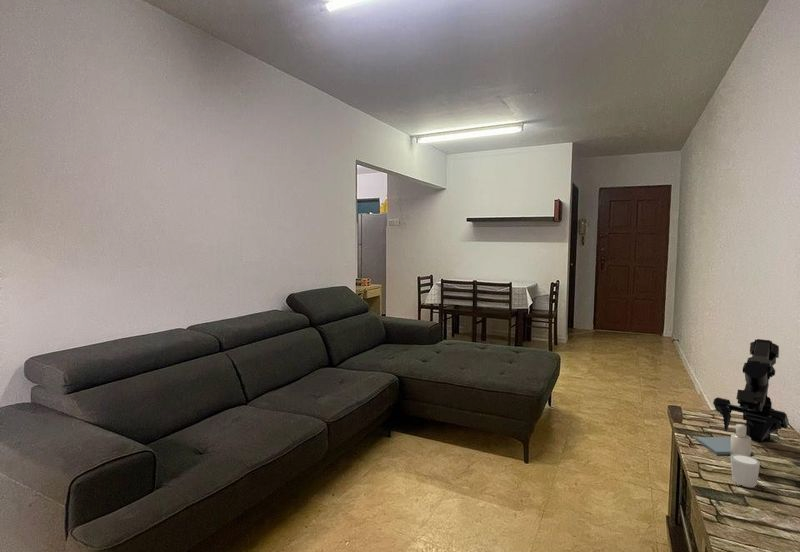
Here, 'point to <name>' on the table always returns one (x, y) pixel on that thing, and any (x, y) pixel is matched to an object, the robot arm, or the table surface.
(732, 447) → the cream bottle
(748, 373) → the robot arm
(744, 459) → the shot glass
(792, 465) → the table surface
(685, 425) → the table surface
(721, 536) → the table surface
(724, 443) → the slate board
